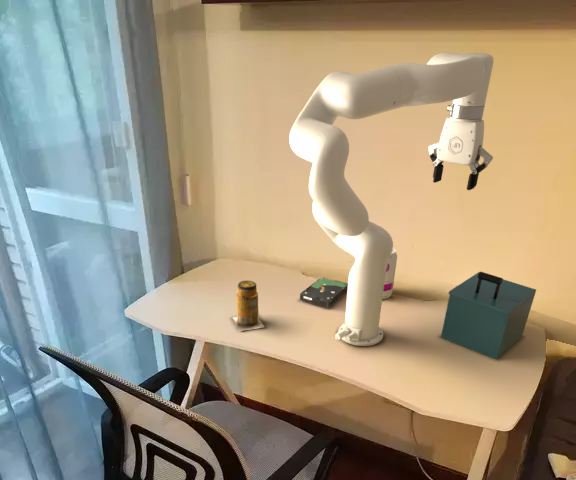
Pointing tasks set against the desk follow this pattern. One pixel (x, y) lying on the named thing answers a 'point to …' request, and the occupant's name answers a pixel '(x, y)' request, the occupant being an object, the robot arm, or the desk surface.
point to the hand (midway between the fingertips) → (453, 185)
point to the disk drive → (324, 292)
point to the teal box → (484, 326)
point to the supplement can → (390, 275)
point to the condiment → (247, 306)
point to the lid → (493, 292)
